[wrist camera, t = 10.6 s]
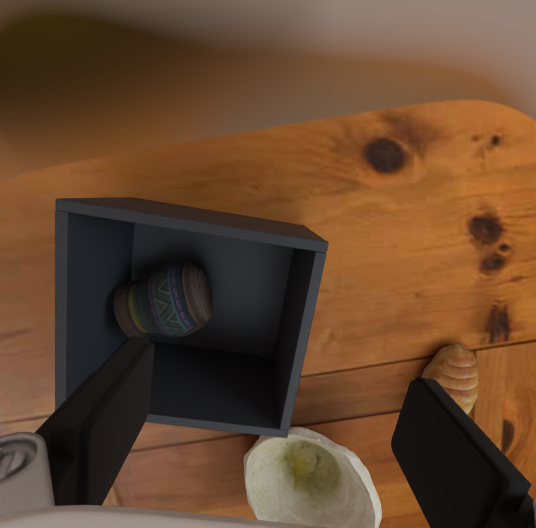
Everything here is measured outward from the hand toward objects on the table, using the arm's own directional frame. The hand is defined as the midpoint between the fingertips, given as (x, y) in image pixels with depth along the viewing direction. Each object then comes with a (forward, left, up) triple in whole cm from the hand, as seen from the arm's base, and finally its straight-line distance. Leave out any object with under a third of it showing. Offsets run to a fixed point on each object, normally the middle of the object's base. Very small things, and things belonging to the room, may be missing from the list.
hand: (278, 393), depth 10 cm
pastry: (+12, +24, -23) cm, 36 cm away
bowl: (+24, +8, -23) cm, 34 cm away
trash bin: (+4, -6, -23) cm, 24 cm away
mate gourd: (+3, -5, -19) cm, 20 cm away
